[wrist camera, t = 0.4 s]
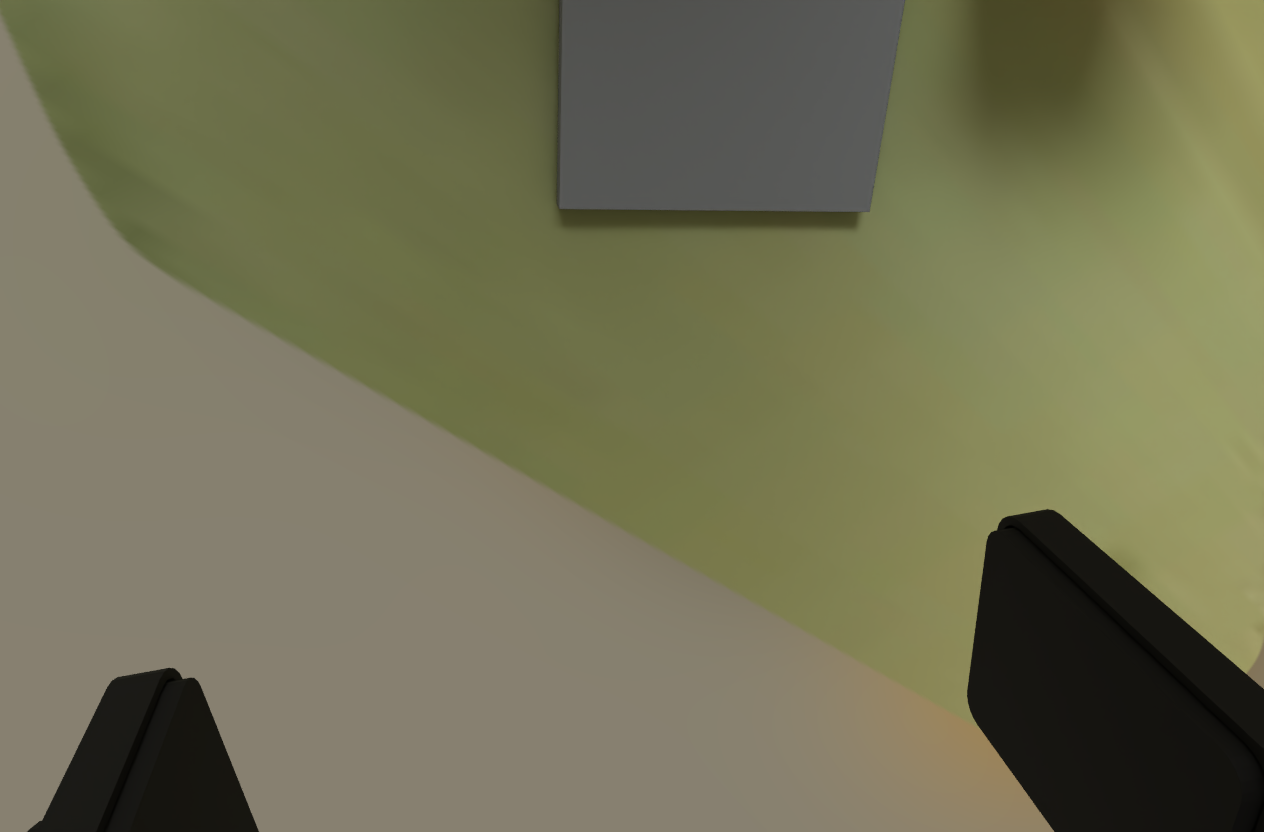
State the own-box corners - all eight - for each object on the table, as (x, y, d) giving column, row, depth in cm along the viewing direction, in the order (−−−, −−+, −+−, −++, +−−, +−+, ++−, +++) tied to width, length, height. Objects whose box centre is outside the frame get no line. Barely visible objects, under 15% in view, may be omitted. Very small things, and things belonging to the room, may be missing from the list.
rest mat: (562, -187, 31) (565, -192, 31) (918, -153, 34) (931, -157, 33) (556, 203, 38) (559, 209, 37) (860, 207, 40) (869, 211, 39)
